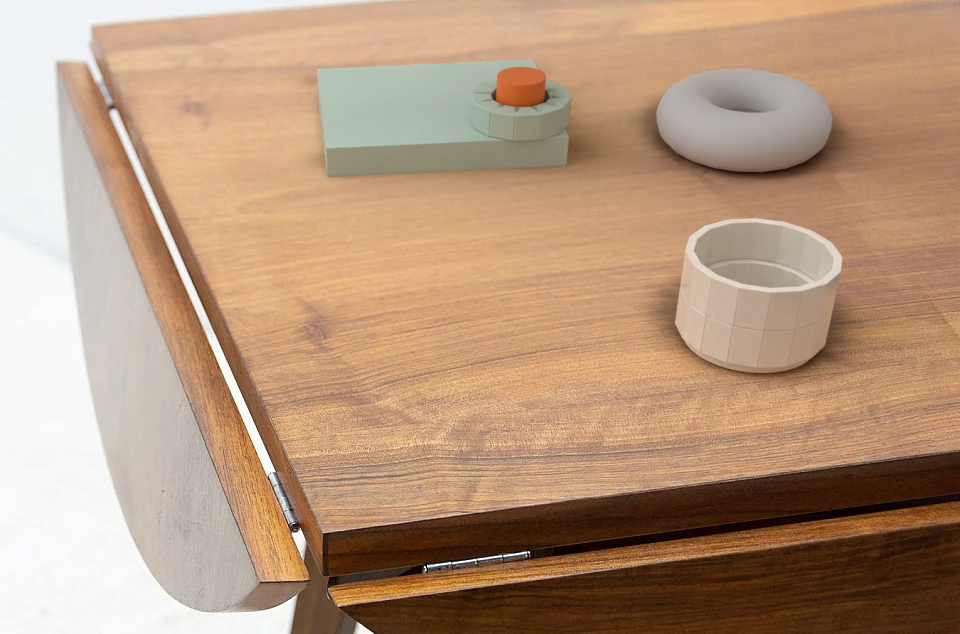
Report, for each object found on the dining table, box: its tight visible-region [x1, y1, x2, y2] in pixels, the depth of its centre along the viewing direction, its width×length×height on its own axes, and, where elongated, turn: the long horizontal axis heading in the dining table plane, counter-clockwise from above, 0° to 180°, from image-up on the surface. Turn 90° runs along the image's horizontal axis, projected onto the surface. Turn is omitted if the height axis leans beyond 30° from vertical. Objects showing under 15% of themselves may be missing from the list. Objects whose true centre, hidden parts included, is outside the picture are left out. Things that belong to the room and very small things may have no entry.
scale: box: [316, 58, 572, 178], centre depth 84 cm, size 14×12×4 cm
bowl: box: [674, 217, 844, 374], centre depth 64 cm, size 7×7×4 cm
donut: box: [655, 67, 834, 173], centre depth 81 cm, size 10×4×10 cm
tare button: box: [496, 67, 547, 107], centre depth 80 cm, size 3×3×2 cm
